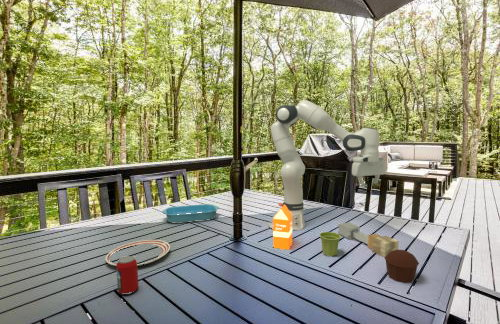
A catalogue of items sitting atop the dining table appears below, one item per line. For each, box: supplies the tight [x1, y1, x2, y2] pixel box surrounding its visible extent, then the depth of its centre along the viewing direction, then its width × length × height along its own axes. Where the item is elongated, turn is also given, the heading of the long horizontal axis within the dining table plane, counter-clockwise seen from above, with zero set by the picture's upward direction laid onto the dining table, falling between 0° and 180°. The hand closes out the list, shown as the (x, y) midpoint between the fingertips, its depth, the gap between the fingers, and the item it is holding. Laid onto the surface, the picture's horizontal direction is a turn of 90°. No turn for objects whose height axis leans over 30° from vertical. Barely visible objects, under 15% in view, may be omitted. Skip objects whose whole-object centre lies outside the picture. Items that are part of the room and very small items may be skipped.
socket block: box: [372, 235, 400, 258], centre depth 127 cm, size 8×7×6 cm
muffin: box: [383, 249, 420, 284], centre depth 106 cm, size 12×11×10 cm
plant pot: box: [319, 231, 342, 257], centre depth 128 cm, size 9×9×9 cm
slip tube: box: [351, 230, 382, 250], centre depth 137 cm, size 4×19×6 cm, turn 22°
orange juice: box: [272, 204, 293, 251], centre depth 137 cm, size 8×9×20 cm
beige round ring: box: [105, 239, 171, 267], centre depth 128 cm, size 27×27×3 cm
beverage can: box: [115, 256, 139, 294], centre depth 99 cm, size 7×7×12 cm
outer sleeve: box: [337, 222, 361, 241], centre depth 149 cm, size 7×8×6 cm
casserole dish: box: [161, 203, 220, 223], centre depth 186 cm, size 37×22×7 cm, turn 107°
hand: (368, 183), depth 150 cm, fingers open, 8 cm apart
